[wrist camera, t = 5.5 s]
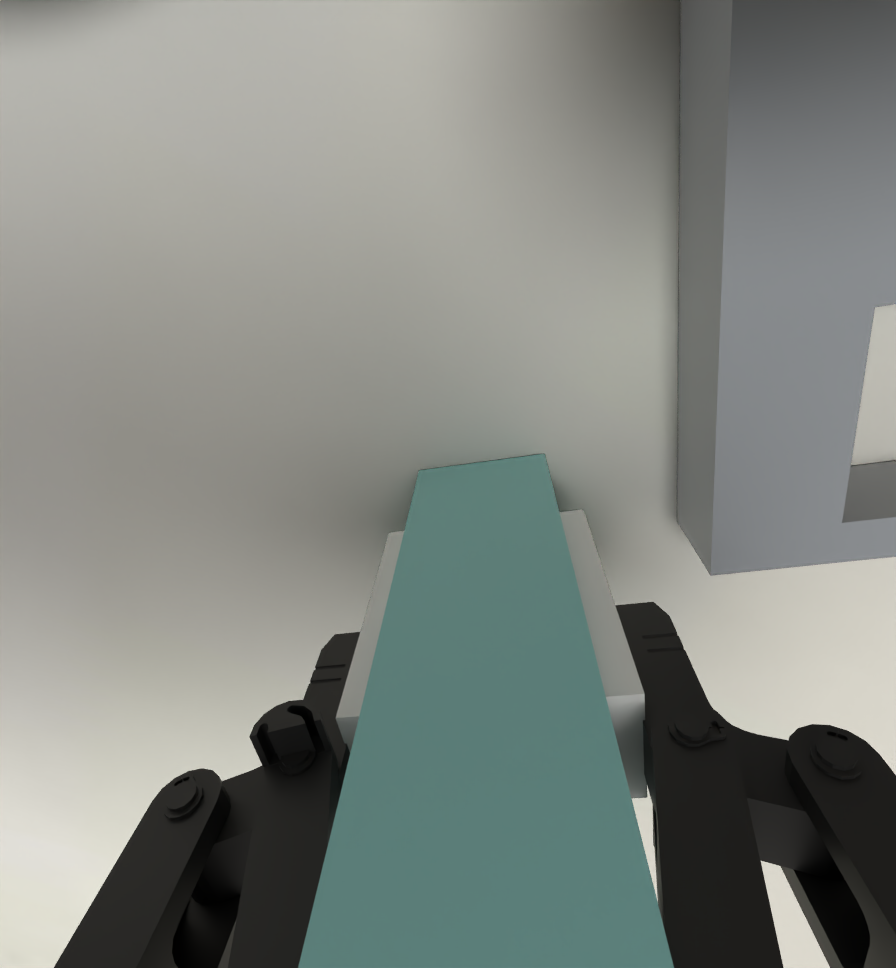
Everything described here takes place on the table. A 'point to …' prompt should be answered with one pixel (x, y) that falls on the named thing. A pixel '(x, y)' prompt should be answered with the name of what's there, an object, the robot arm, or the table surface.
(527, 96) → the table surface
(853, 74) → the socket
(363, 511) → the table surface
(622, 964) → the peg
